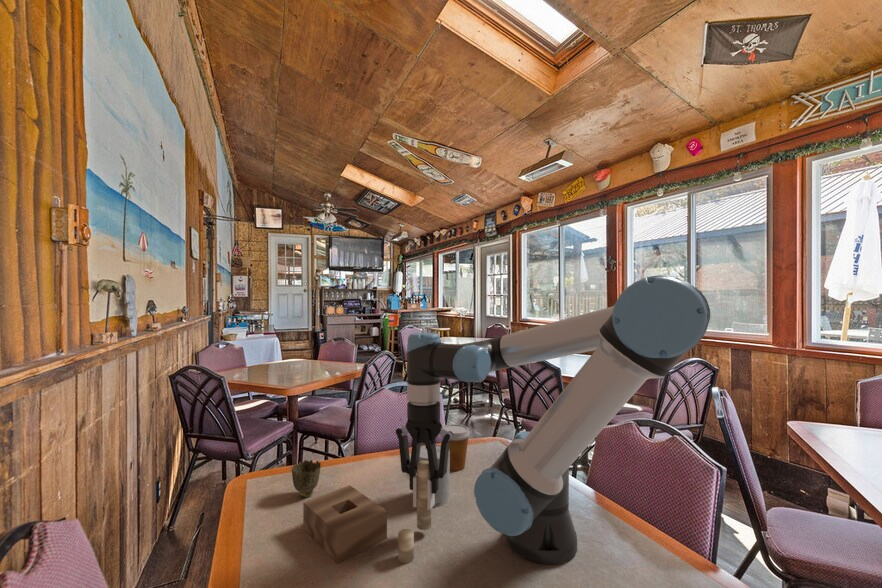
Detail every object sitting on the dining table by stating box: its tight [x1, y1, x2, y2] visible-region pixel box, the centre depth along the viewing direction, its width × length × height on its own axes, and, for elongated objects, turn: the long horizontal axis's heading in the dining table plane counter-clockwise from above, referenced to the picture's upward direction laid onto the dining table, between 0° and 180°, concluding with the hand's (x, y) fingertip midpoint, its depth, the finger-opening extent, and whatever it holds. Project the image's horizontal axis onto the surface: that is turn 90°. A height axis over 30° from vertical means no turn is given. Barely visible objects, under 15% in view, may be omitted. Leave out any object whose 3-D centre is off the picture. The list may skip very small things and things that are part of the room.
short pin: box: [397, 528, 415, 565], centre depth 78 cm, size 3×3×5 cm
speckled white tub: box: [419, 444, 451, 508], centre depth 102 cm, size 10×10×12 cm
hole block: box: [302, 485, 388, 564], centre depth 87 cm, size 16×12×6 cm
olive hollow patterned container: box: [291, 459, 322, 498], centre depth 103 cm, size 8×7×8 cm
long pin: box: [416, 461, 432, 531], centre depth 87 cm, size 3×3×14 cm
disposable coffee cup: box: [442, 423, 471, 472], centre depth 121 cm, size 10×10×12 cm
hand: (424, 505), depth 87 cm, fingers closed on long pin, 3 cm apart
